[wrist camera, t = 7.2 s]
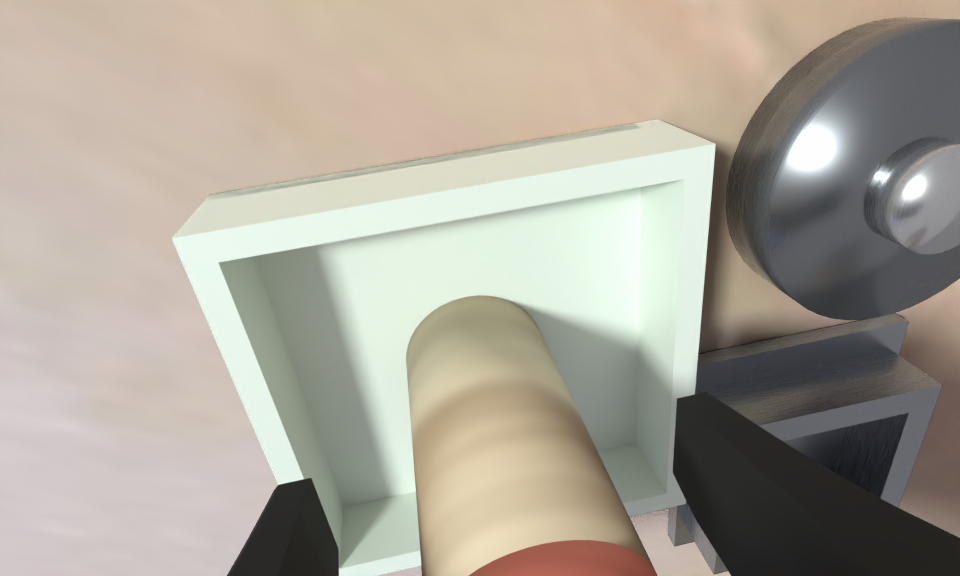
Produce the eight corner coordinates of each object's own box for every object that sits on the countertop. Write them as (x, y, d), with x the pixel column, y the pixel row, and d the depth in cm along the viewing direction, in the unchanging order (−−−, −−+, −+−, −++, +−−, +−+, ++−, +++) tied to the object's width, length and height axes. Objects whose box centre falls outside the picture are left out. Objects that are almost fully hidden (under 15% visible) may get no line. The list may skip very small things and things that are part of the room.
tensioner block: (844, 492, 21) (894, 545, 19) (667, 534, 20) (699, 593, 18) (895, 313, 17) (965, 355, 15) (678, 358, 16) (721, 408, 14)
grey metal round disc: (938, 263, 16) (1038, 310, 14) (714, 308, 16) (777, 365, 13) (1021, -3, 13) (1173, -4, 10) (740, 41, 12) (831, 52, 10)
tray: (647, 441, 18) (685, 504, 15) (330, 511, 17) (322, 588, 15) (657, 119, 13) (715, 144, 11) (209, 194, 12) (171, 238, 10)
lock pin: (551, 389, 15) (689, 703, 8) (426, 424, 15) (465, 772, 8) (529, 279, 14) (682, 563, 7) (388, 317, 13) (398, 648, 7)
